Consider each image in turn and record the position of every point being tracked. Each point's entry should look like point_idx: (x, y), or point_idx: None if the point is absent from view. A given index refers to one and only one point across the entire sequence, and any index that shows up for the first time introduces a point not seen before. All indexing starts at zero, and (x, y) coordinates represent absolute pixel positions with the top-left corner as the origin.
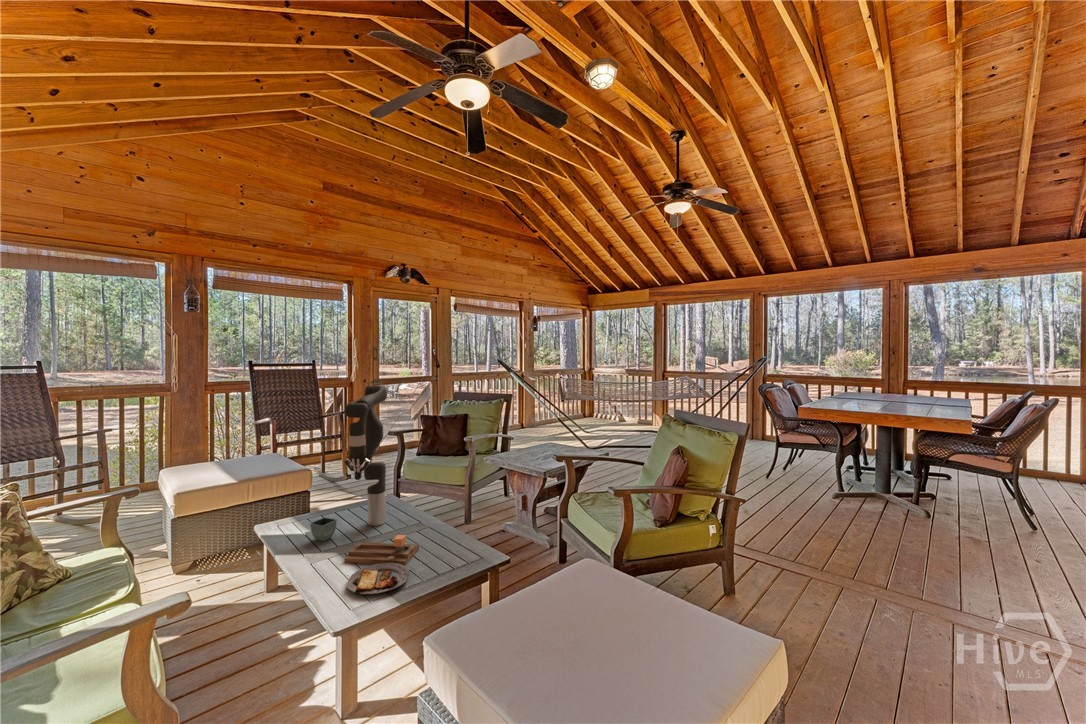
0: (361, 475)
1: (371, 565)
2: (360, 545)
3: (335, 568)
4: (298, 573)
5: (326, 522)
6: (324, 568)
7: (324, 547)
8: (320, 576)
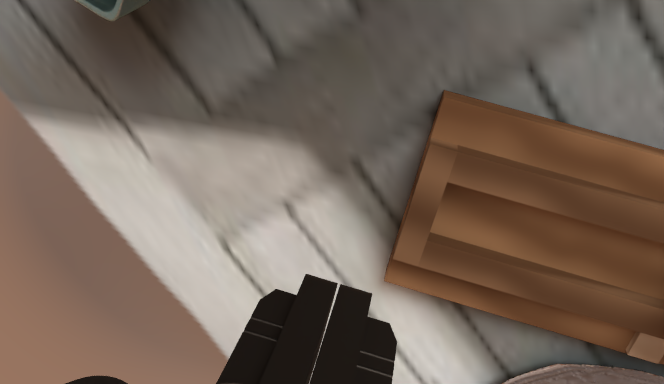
0: (392, 368)
1: (541, 372)
2: (445, 186)
3: None
4: (211, 319)
5: None
6: None
7: (208, 63)
8: None
